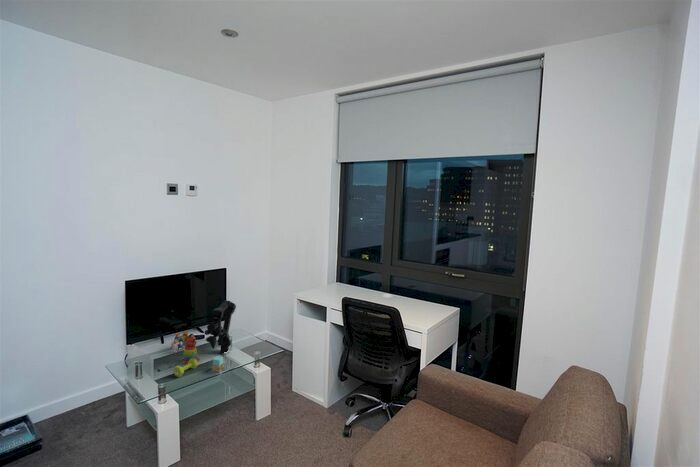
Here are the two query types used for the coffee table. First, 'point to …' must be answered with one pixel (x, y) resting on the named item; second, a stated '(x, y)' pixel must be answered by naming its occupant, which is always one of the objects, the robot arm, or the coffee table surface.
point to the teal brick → (217, 361)
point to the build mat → (214, 372)
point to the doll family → (177, 342)
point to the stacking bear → (190, 350)
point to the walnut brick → (217, 368)
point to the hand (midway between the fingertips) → (216, 345)
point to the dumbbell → (185, 367)
